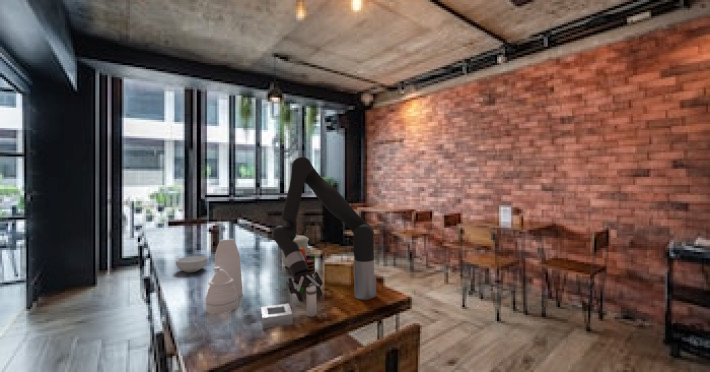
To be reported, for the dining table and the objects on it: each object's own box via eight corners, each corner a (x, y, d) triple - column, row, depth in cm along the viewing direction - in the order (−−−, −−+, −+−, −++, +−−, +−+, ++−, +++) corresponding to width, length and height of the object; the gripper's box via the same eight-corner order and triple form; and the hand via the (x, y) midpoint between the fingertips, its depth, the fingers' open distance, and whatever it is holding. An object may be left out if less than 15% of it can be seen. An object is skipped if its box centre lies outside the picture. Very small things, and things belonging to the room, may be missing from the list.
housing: (289, 313, 142) (288, 303, 142) (292, 324, 131) (292, 313, 131) (261, 316, 139) (261, 307, 138) (262, 328, 128) (262, 317, 128)
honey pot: (218, 316, 140) (217, 272, 139) (199, 309, 146) (197, 267, 146) (244, 305, 150) (243, 264, 150) (224, 300, 157) (223, 260, 157)
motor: (310, 292, 166) (309, 251, 165) (292, 291, 168) (292, 250, 167) (317, 285, 176) (316, 246, 175) (300, 284, 177) (299, 246, 177)
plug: (315, 311, 143) (315, 285, 142) (317, 315, 139) (317, 288, 138) (305, 313, 142) (305, 286, 141) (307, 317, 138) (306, 290, 137)
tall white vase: (215, 299, 159) (213, 242, 157) (214, 291, 169) (213, 238, 168) (242, 295, 163) (241, 240, 162) (240, 287, 174) (239, 236, 173)
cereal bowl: (213, 269, 208) (213, 257, 208) (187, 276, 194) (186, 263, 194) (196, 265, 218) (196, 254, 217) (170, 271, 203) (170, 260, 203)
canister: (306, 269, 205) (306, 234, 204) (276, 270, 205) (275, 234, 204) (311, 261, 223) (310, 229, 222) (283, 262, 223) (282, 229, 222)
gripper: (284, 262, 142) (298, 298, 133) (314, 257, 151) (329, 290, 142) (279, 272, 146) (292, 307, 138) (308, 266, 155) (322, 299, 146)
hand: (311, 298), depth 140 cm, fingers open, 8 cm apart
